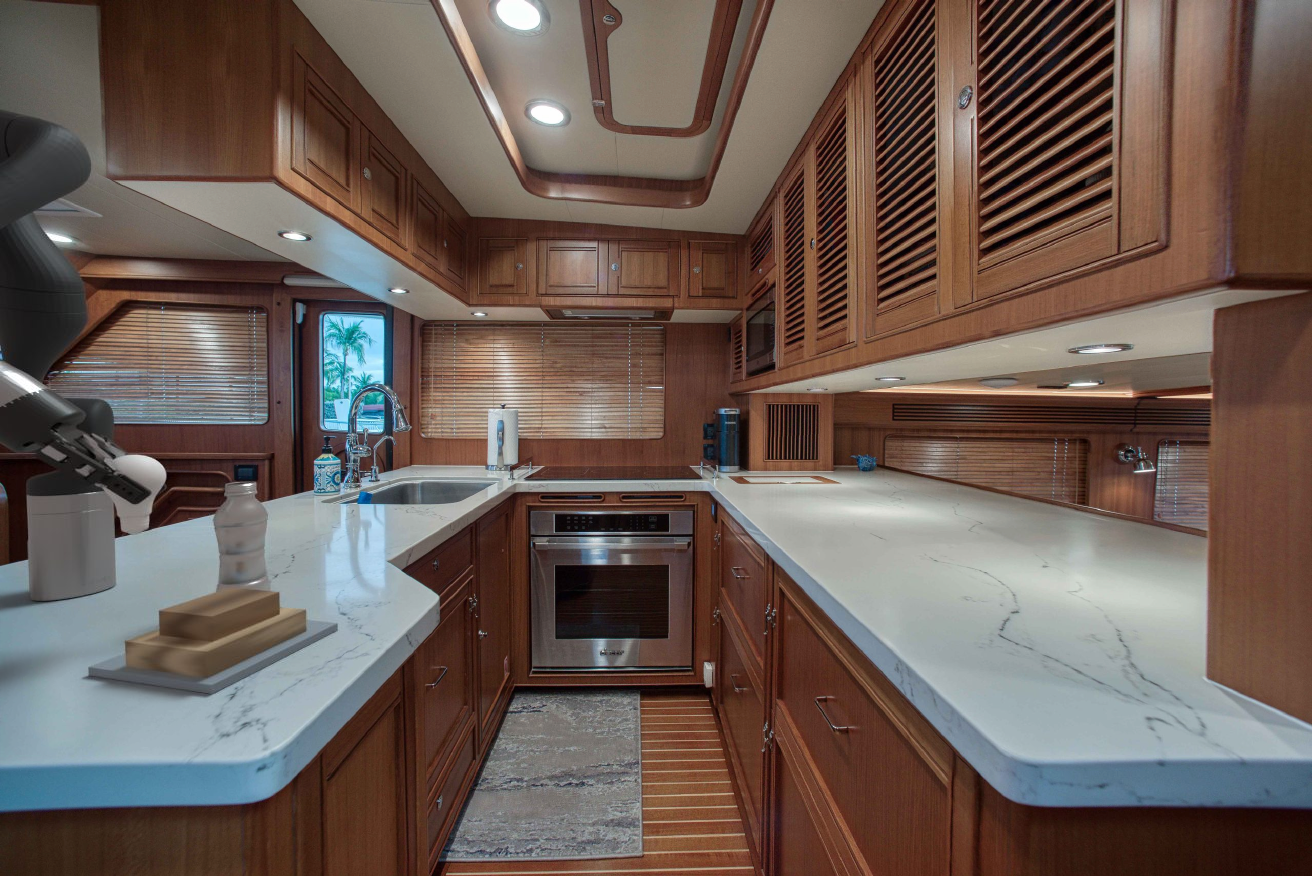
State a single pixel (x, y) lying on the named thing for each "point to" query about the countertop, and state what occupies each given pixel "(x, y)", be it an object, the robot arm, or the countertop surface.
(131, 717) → the countertop surface
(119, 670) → the slate board
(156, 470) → the lightbulb
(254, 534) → the plastic bottle
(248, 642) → the block tower
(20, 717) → the countertop surface
